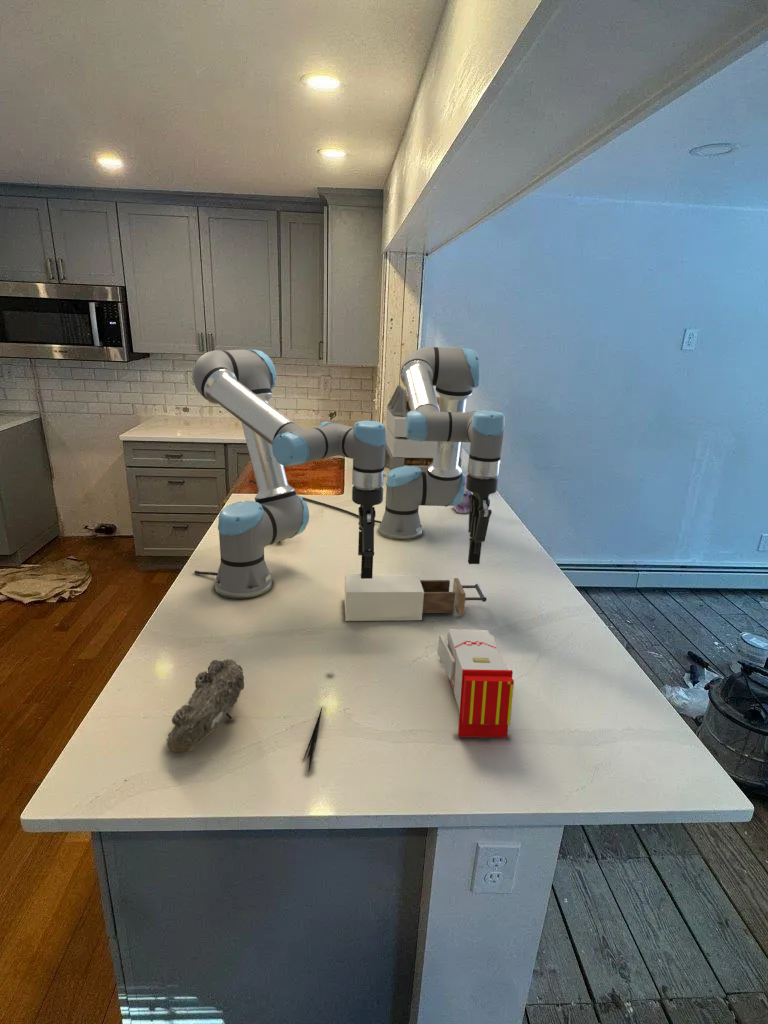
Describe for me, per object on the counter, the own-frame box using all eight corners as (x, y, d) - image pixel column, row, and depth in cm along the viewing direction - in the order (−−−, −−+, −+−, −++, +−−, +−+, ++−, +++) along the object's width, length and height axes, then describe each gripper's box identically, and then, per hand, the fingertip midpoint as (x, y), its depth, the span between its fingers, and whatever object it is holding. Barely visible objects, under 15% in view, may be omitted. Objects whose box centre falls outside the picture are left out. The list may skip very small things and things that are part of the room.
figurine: (461, 515, 220) (465, 478, 215) (447, 507, 229) (450, 471, 224) (481, 512, 224) (485, 476, 219) (466, 504, 233) (469, 469, 228)
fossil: (192, 660, 117) (244, 628, 112) (224, 691, 120) (276, 661, 115) (142, 746, 98) (202, 712, 93) (182, 779, 101) (242, 748, 96)
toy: (488, 613, 130) (523, 677, 101) (484, 667, 133) (517, 744, 104) (435, 612, 130) (455, 676, 101) (432, 666, 133) (451, 743, 103)
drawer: (477, 598, 156) (479, 577, 153) (485, 615, 147) (488, 593, 145) (389, 598, 153) (390, 578, 151) (393, 616, 145) (394, 594, 142)
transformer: (382, 463, 289) (386, 382, 275) (445, 464, 293) (451, 384, 279) (390, 482, 257) (394, 392, 243) (460, 483, 261) (468, 394, 247)
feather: (331, 679, 122) (336, 673, 122) (307, 777, 96) (313, 769, 95) (324, 675, 122) (329, 669, 121) (298, 772, 95) (304, 764, 95)
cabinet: (416, 600, 155) (417, 573, 152) (421, 620, 145) (424, 591, 142) (344, 601, 153) (345, 573, 150) (345, 620, 143) (346, 592, 140)
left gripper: (388, 503, 126) (384, 588, 133) (379, 472, 149) (375, 546, 156) (354, 502, 125) (352, 588, 132) (350, 471, 148) (348, 546, 155)
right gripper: (505, 483, 133) (494, 574, 141) (490, 468, 145) (481, 552, 153) (474, 482, 132) (465, 574, 140) (461, 467, 144) (454, 552, 152)
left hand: (364, 565), depth 144 cm, fingers open, 13 cm apart
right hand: (473, 562), depth 147 cm, fingers closed
